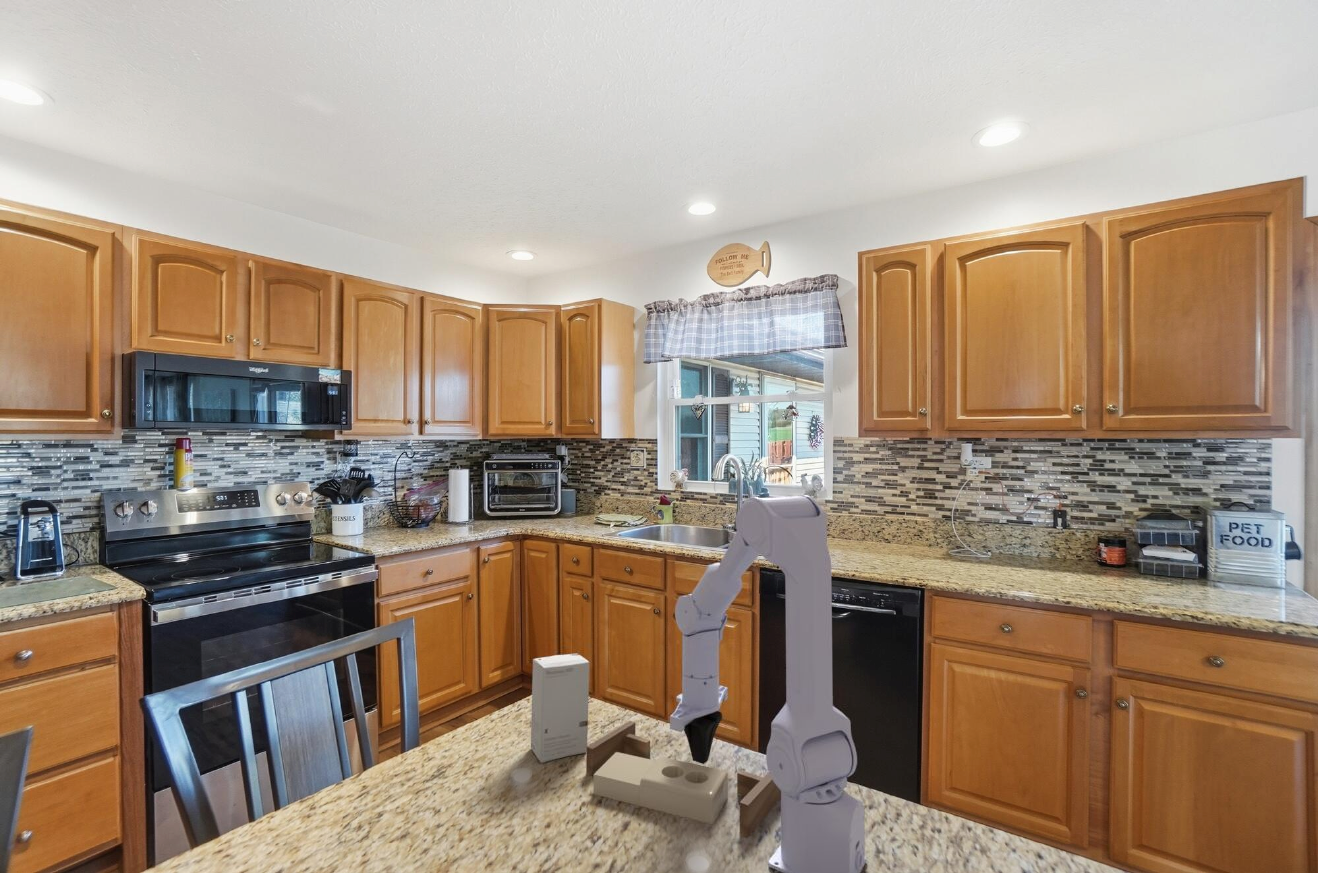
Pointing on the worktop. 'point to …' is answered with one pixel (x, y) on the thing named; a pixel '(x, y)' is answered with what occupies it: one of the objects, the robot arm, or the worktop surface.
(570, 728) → the skincare box
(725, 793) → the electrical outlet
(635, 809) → the worktop surface
